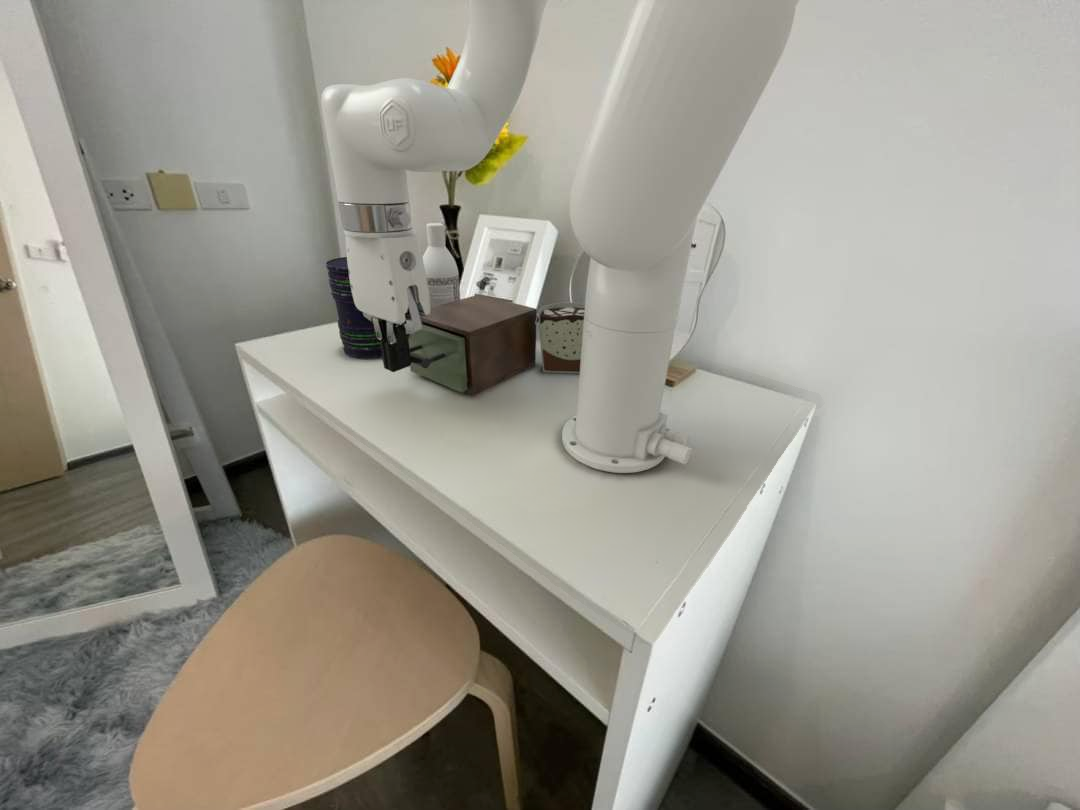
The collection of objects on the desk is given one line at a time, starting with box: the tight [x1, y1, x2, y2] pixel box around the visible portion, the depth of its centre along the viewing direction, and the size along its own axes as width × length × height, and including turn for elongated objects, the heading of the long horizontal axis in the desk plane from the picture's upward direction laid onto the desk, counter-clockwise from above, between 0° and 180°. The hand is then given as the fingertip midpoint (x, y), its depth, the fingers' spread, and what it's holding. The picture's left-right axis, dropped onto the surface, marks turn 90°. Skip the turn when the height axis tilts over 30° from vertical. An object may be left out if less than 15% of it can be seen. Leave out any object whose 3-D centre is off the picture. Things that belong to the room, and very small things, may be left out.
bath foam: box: [422, 222, 461, 308], centre depth 80 cm, size 7×7×20 cm
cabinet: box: [420, 294, 538, 396], centre depth 69 cm, size 15×13×10 cm
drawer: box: [408, 322, 469, 393], centre depth 66 cm, size 18×11×8 cm, turn 142°
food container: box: [535, 302, 585, 375], centre depth 71 cm, size 12×6×10 cm, turn 88°
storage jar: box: [325, 256, 382, 360], centre depth 74 cm, size 10×10×15 cm
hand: (398, 367), depth 59 cm, fingers closed
